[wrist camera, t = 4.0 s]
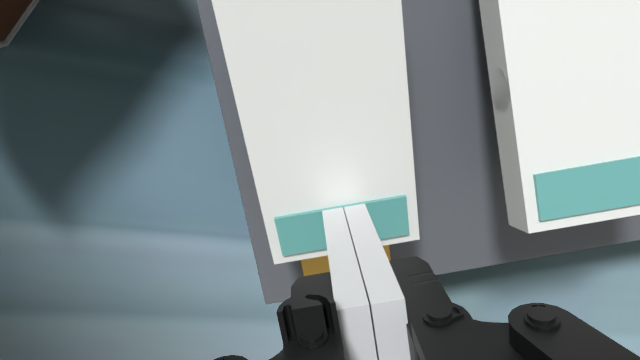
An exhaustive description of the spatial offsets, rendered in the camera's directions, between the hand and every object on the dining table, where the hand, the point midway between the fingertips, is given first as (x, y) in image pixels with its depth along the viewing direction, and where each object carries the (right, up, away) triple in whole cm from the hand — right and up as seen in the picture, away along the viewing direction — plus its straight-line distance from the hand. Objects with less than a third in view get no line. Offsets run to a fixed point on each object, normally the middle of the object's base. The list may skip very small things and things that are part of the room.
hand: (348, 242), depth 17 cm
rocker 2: (+8, +6, -1) cm, 10 cm away
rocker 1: (-1, +4, -1) cm, 4 cm away
